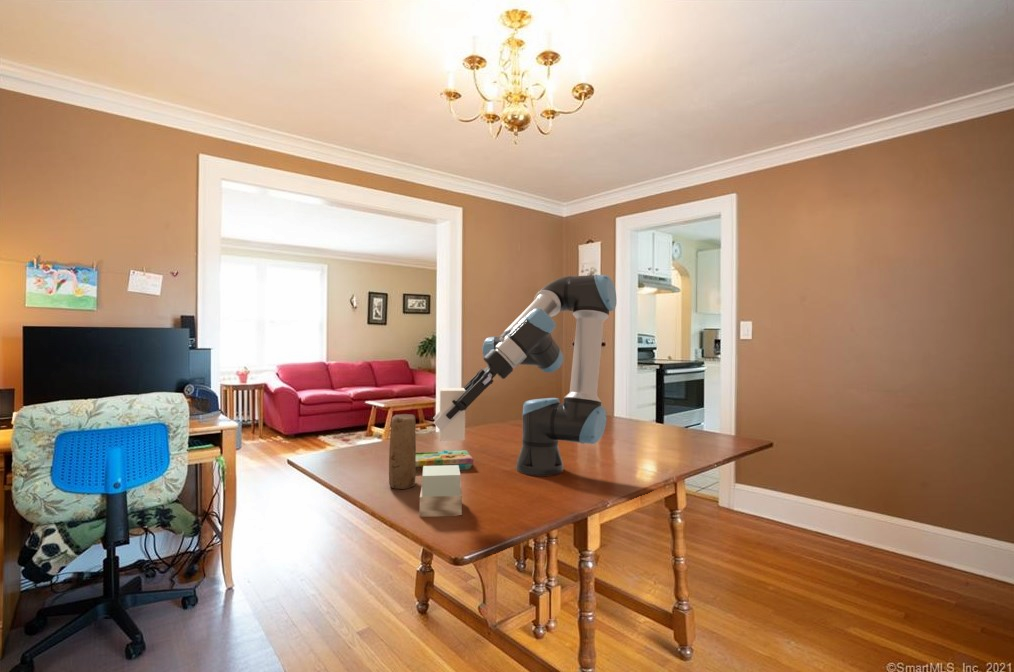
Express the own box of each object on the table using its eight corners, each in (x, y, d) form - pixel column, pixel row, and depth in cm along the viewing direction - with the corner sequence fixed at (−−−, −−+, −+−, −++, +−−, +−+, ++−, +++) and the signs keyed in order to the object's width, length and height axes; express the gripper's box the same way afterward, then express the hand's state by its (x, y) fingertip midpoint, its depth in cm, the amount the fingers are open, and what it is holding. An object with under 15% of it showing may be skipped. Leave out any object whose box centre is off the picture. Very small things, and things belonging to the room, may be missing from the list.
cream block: (463, 435, 126) (463, 387, 126) (464, 440, 120) (465, 390, 120) (439, 435, 125) (440, 387, 125) (439, 440, 119) (440, 390, 119)
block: (415, 489, 138) (416, 418, 138) (387, 491, 137) (389, 418, 137) (415, 478, 149) (416, 412, 149) (389, 479, 148) (390, 412, 148)
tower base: (460, 502, 129) (460, 483, 129) (461, 516, 119) (462, 496, 119) (421, 503, 128) (421, 484, 128) (419, 517, 118) (419, 496, 118)
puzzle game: (473, 456, 160) (410, 459, 155) (473, 471, 160) (410, 474, 155) (467, 448, 171) (408, 450, 166) (466, 462, 171) (407, 464, 166)
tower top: (458, 484, 128) (458, 465, 128) (460, 495, 119) (460, 474, 119) (422, 485, 127) (423, 465, 127) (422, 496, 118) (422, 475, 118)
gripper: (489, 346, 133) (426, 407, 131) (499, 348, 115) (426, 420, 112) (508, 366, 134) (446, 427, 132) (521, 371, 116) (449, 443, 113)
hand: (437, 424), depth 122 cm, fingers closed on cream block, 6 cm apart
